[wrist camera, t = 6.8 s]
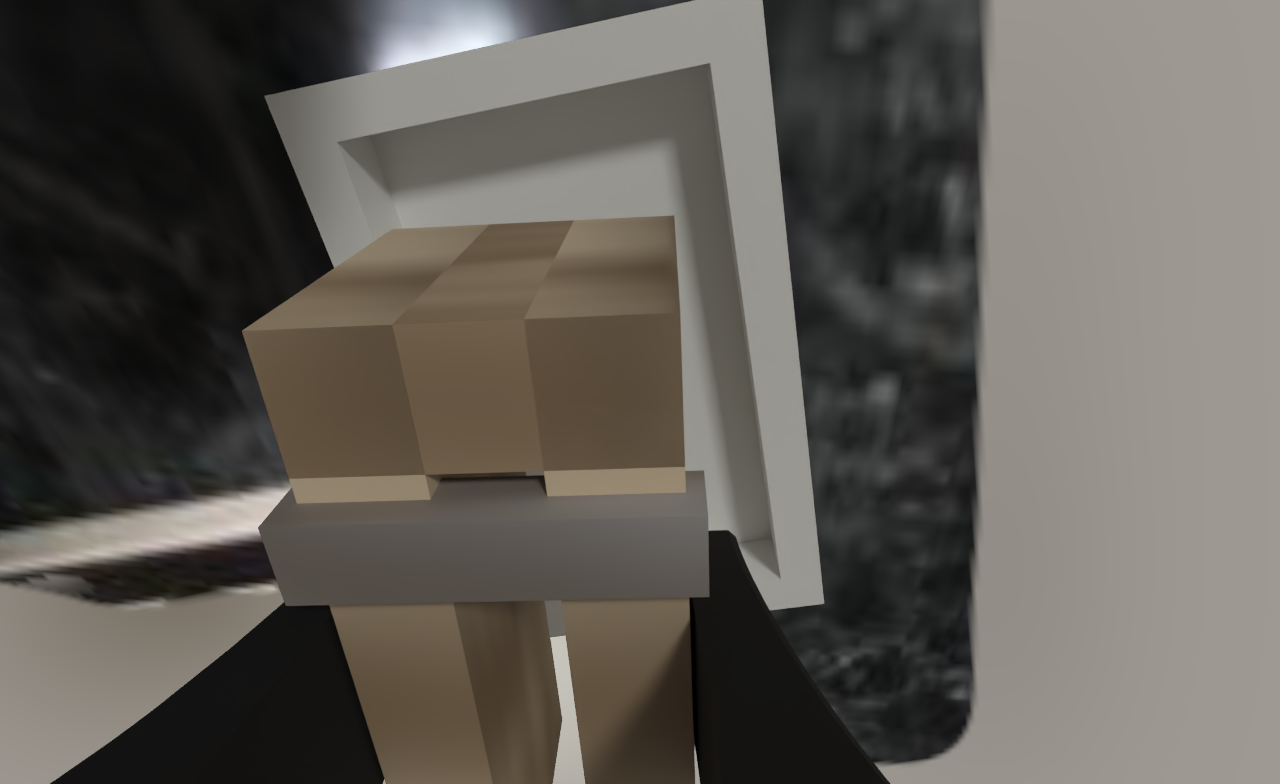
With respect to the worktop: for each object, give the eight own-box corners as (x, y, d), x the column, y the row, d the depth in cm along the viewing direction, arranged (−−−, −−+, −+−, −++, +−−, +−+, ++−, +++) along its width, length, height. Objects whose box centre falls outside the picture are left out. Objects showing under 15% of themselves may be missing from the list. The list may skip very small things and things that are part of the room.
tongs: (378, 229, 10) (195, 348, 6) (688, 214, 10) (704, 327, 6) (484, 720, 14) (416, 975, 11) (701, 718, 14) (714, 976, 10)
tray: (806, 542, 20) (824, 603, 18) (504, 582, 21) (487, 644, 19) (746, -10, 14) (760, -15, 12) (320, 85, 15) (264, 96, 13)
